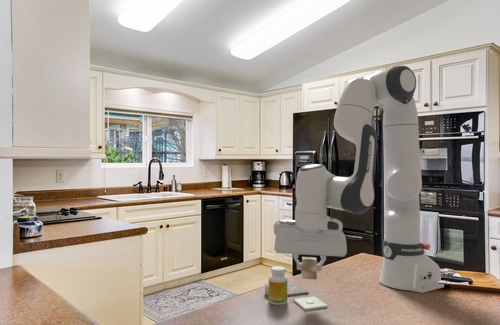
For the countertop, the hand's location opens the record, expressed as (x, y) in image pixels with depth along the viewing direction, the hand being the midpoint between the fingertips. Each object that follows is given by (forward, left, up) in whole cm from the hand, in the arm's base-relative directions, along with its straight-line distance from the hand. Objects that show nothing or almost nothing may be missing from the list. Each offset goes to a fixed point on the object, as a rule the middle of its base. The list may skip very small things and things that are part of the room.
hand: (309, 269), depth 101 cm
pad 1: (0, -11, -10) cm, 15 cm away
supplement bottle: (+8, -4, -10) cm, 13 cm away
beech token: (0, 0, -2) cm, 2 cm away
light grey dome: (+7, -10, -10) cm, 16 cm away
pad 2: (0, 0, -10) cm, 10 cm away
